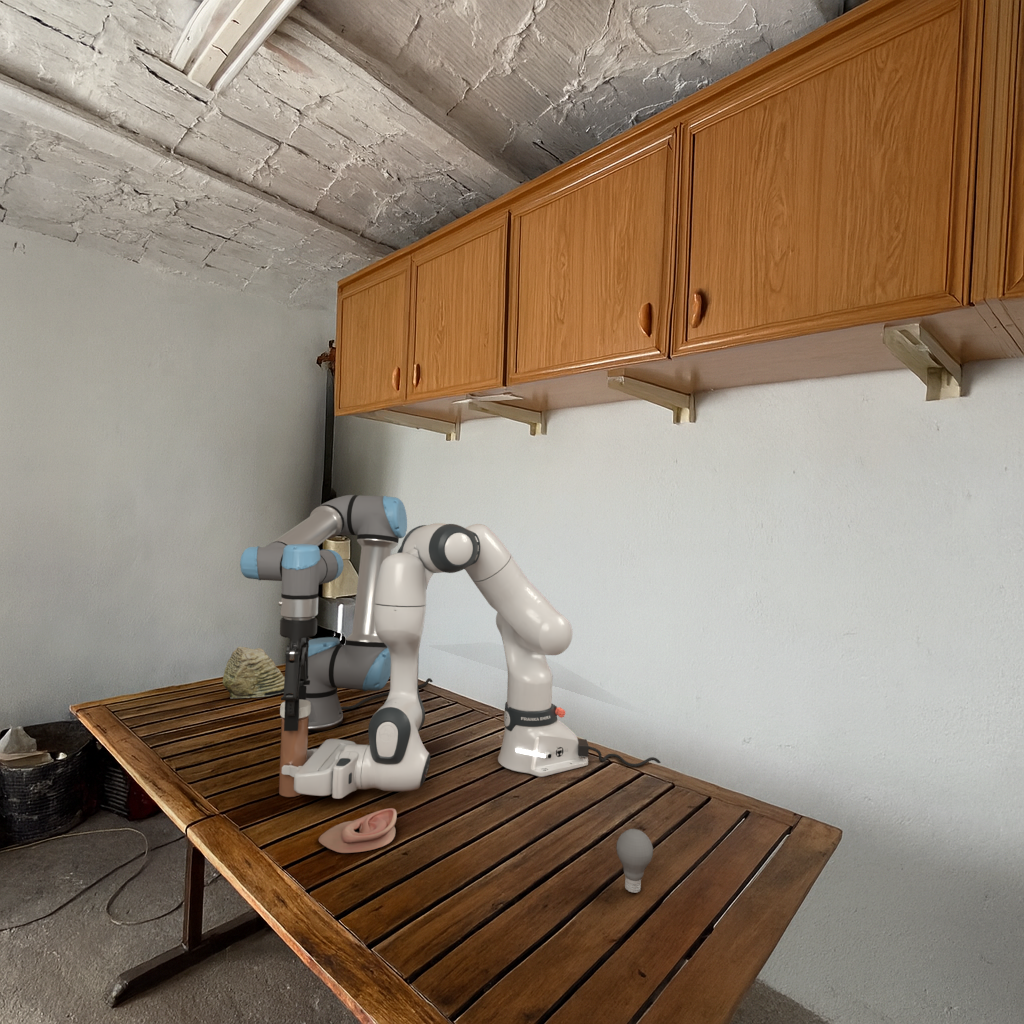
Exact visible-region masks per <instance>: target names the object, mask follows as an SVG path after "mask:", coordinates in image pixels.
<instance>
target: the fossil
mask: <svg viewBox="0 0 1024 1024" xmlns="http://www.w3.org/2000/svg"><path fill="white" fill-rule="evenodd" d="M222 676H223V677H222V685H223V687H224V688H225V690H226V691H228V693H229V698H230V699H250V698H264V697H271V696H275V695H281V694H284V681H285V675H284V674H283V673H282V672H281V669H279V668H278V667H277V665H276V663H275V662H274V660H273V659H272V658H271V657H270V656H269V655H268V654H267V653H266V652H265V650H264V649H263V648H260V647H258V648H251V647H247V646H246V647H245V646H238V647H237V648H236V649H235V650H233V651H232V653H231V656H230V657H229V659H228V660H227V663H226V666H225V668H224V671H223V675H222Z"/></svg>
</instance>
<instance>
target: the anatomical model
mask: <svg viewBox="0 0 1024 1024" xmlns="http://www.w3.org/2000/svg"><path fill="white" fill-rule="evenodd" d="M397 816H398V813H397V810H396V809H395V808H392V807H390V808H384V809H380V810H377V811H374V812H371V813H369V814H366V815H364V816H362V817H360V818H357V819H354V820H348V821H343V822H341V823H339V824H335V825H334V826H332V827H330V828H328V830H326V831H324V832H323V833H322V834H321V835H320V836H319V837H318V842H319V843H320V844H321V845H322V846H324V847H325V848H327V849H329V850H332V851H333V852H336V853H339V854H351V853H361V852H367V851H372V850H376V849H380V848H382V847H385V846H387V845H389V844H390V843H392V842H393V840H394V839H395V837H396V833H397V832H396V827H395V825H396V823H397V818H398V817H397Z"/></svg>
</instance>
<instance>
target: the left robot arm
mask: <svg viewBox="0 0 1024 1024" xmlns="http://www.w3.org/2000/svg"><path fill="white" fill-rule="evenodd" d="M407 530H408V517H407V510H406V507H405V504H404V502H403V501H402V499H400V497H399V498H398V497H395V496H387V495H360V494H346V495H342V496H338V497H335V498H333V499H330V500H327V501H326V502H323V503H321V504H320V505H318V506H317V507H316V508H314V509H313V510H311V512H310V514H309V516H308V517H307V518H306V519H304V520H302V521H301V522H299V523H298V524H297V525H295V526H293V527H292V528H291V529H289V530H288V531H286V532H285V533H283V534H282V535H280V536H279V537H277V538H276V539H274V540H273V541H272V542H270V543H269V544H267V545H266V546H260V545H259V546H249V547H247V548H245V549H244V550H243V552H242V554H241V556H240V561H239V566H240V571H241V575H242V576H243V577H244V578H247V579H250V580H258V581H272V582H281V593H280V594H281V596H280V597H281V600H279V601H278V603H277V605H278V606H280V616H281V618H280V619H279V635H280V636H281V637H282V638H288V639H289V643H288V645H286V650H285V654H284V655H285V667H284V677H285V681H284V692H283V696H281V697H280V701H284V702H285V716H284V731H298V721H299V699H302V700H307V701H310V705H311V712H310V714H309V715H308V716H309V724H308V733H316V732H325V731H329V730H332V729H335V728H337V727H339V726H340V725H342V723H343V722H344V714H343V711H345V710H346V711H347V710H350V711H351V710H353V709H354V710H355V709H356V708H358V707H359V706H361V705H362V704H364V703H366V702H368V701H369V702H370V701H372V700H374V699H377V698H381V697H386V696H389V692H390V691H386V692H381V693H377V694H374V695H371V696H369V697H366V698H363V699H362V700H360V701H359V702H356V703H355V704H353V705H348V706H347V705H346V706H345V705H343V706H341V702H340V699H339V695H338V689H346V690H358V691H363V692H368V691H370V692H371V691H373V692H377V691H380V690H382V689H383V688H384V687H385V686H386V685H387V684H388V681H389V679H390V672H391V658H390V652H389V650H388V648H387V646H386V645H385V644H384V643H383V642H382V641H381V640H380V639H379V638H378V636H377V635H376V631H375V623H374V604H375V592H376V585H377V580H378V575H379V571H380V567H381V564H382V562H383V560H384V559H385V558H386V557H388V556H390V555H392V554H393V550H394V549H395V548H396V547H398V546H399V542H400V539H404V538H405V536H406V535H407ZM344 535H345V536H356V542H357V543H358V544H359V546H360V547H361V551H360V558H359V568H358V577H357V584H356V585H357V587H356V594H355V602H354V612H353V622H352V632H351V634H349V635H348V636H347V637H346V638H345V643H344V644H341V641H340V639H339V638H338V637H334V636H325V637H317V638H313V637H315V636H316V634H317V633H318V619H317V617H316V616H318V614H319V586H320V585H323V584H329V583H331V582H333V581H335V580H336V579H338V578H340V576H341V575H342V573H343V571H344V566H345V565H344V560H343V558H342V555H341V554H339V553H338V552H337V551H335V550H333V549H320V547H319V546H320V545H321V544H323V543H324V542H325V541H326V540H330V539H334V538H336V537H337V536H344ZM311 637H312V639H310V638H311ZM433 682H434V681H433V680H432V678H431V677H429V678H427V679H426V680H425V681H424V683H421V684H418V689H422V688H424V687H425V686H427V685H428V684H429V683H433Z"/></svg>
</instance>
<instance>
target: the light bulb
mask: <svg viewBox="0 0 1024 1024" xmlns="http://www.w3.org/2000/svg"><path fill="white" fill-rule="evenodd" d="M615 849H616V854H617V857H618V859H619V861H620V863H621V865H622V867H623V873H624V874H623V875H624V876H625V878H624V888H625V890H627V891H628V892H630V893H634V894H635V893H639V892H640V891H641V889H642V887H641V886H642V879H643V877H644V875H645V871H646V868H647V867H648V866H649V864H650V863H651V861H652V859H653V855H654V847H653V843H652V841H651V838H649V836H648V835H647V834H646V833H645V832H643V831H642V830H641V829H636V828H629V829H627V830H625V831H623V832H622V833H621V834H620V835H619V837H618V839H617V841H616V847H615Z"/></svg>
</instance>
